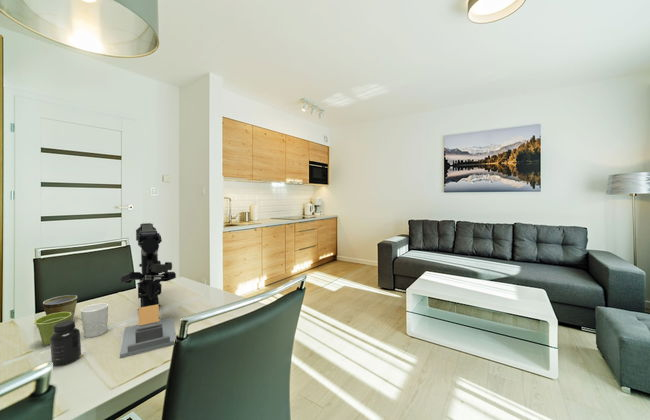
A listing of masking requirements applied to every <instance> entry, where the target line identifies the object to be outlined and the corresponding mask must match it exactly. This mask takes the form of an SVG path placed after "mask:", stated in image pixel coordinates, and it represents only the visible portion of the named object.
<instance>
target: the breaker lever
mask: <svg viewBox="0 0 650 420" xmlns="http://www.w3.org/2000/svg"><path fill="white" fill-rule="evenodd" d="M159 305H160V304H157V305H152V306H146V307H141V306H140V307H138V309H139V310H138V325H139V326H138V327H137V330H141V329H146V328H151V327H155V326H160V325H161V322H159V320H160V314H159V313H160V311H159V310H160V308H159V307H160V306H159ZM155 322H157V323H155ZM150 323H153V324H150ZM145 324H148V325H145ZM141 325H143V326H141Z"/></svg>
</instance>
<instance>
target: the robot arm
mask: <svg viewBox="0 0 650 420" xmlns="http://www.w3.org/2000/svg"><path fill="white" fill-rule="evenodd" d="M135 239H136V241H137V246H139V248H141V250H140V254H141V255H140V261H141V263H140V264H138V265H139V266H138V267H139V268H141V271H140V272H139V271H130V272H128V273H126V274H123V275H122V277H121V278H120V280H121V281H120V282H121V284H130V283H131V282H133V281H139V282H137V299H140V307H146V306H152V305H157V304H159V300H160V299H159V296H160V295H161V294H162V283H163V282H170V281H172V280H175V279H176V278H177V274H176V272H175V271H172V269H173V262H169V261H165V262H164V263H161V260H159V257H158V256H159V254H158V252H159V248H160V244H161V243H162V241H163V239H162V236H161V234H160V233H159V232H158V231H157V228H156V227H155V226H154V223H151V222H147V223H145V222H143V223H140V225H139V227H138V228H137V229H135ZM161 282H162V283H161ZM159 307H161V304H159ZM137 311H139V308H138V309H137Z"/></svg>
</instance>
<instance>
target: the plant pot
mask: <svg viewBox="0 0 650 420" xmlns="http://www.w3.org/2000/svg"><path fill="white" fill-rule="evenodd" d="M70 316H71V313H70V312H59V313H53V314H49V315H46V314H45V315H43V316H41V317H38V318H37V319H35V320H34V322H33V323H34V325H36V328H38V333H39V335H40V339H41V344H42V345H44V346H48V345H50V338H51V336H52V335H53V334H54V325H56V324H57V323H60V322H63V321H68V320H69V319H70Z"/></svg>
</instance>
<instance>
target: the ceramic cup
mask: <svg viewBox="0 0 650 420" xmlns="http://www.w3.org/2000/svg"><path fill="white" fill-rule="evenodd" d="M77 303H78V295H76V294H75V295H74V294H68V295H67V294H66V295H59V296H56V297H55V296H54V297H51V298H49V299H46V300H44V301H43V302H42V306H43V311H44V313H45V316H46V315H49V314H53V313H59V312H70V313H71V316H70V319H69V320H74V317H75V313H76V307H77Z"/></svg>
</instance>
